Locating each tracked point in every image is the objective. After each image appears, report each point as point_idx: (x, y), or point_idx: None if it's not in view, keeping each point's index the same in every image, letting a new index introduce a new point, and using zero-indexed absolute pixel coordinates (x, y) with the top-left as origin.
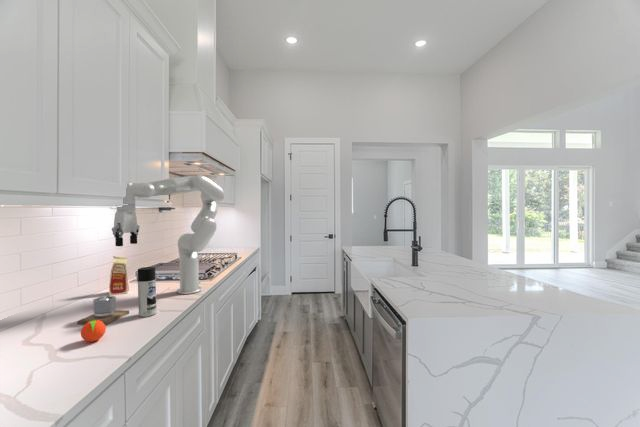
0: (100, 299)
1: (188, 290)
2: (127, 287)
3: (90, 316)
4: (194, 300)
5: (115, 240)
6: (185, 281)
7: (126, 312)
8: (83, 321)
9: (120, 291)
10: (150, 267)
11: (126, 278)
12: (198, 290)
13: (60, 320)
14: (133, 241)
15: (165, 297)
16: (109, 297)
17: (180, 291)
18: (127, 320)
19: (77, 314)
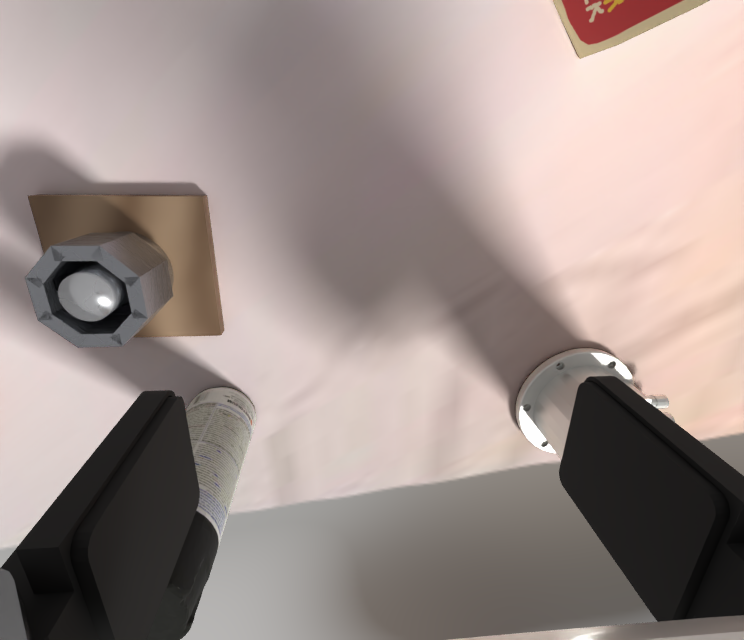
0: (65, 288)
1: (536, 423)
2: (609, 47)
3: (100, 210)
4: (420, 483)
5: (76, 475)
6: (559, 442)
7: (202, 334)
8: (38, 229)
9: (574, 14)
10: (166, 623)
11: (661, 18)
12: (549, 451)
13: (48, 42)
14: (589, 467)
15: (471, 346)
16: (130, 297)
17: (536, 386)
18: (143, 380)
19: (155, 60)
